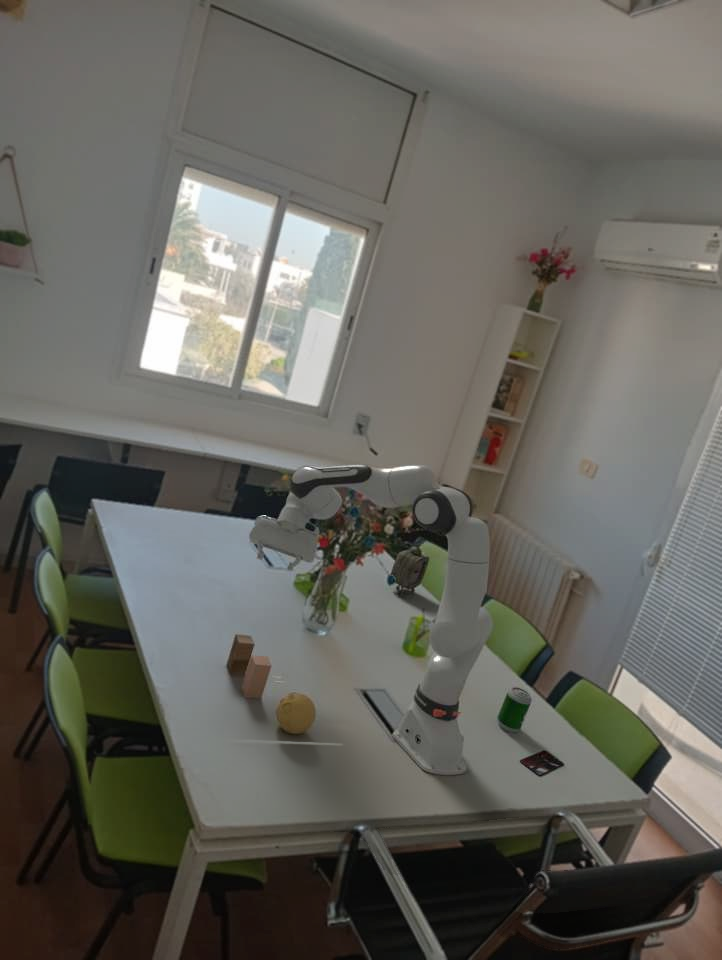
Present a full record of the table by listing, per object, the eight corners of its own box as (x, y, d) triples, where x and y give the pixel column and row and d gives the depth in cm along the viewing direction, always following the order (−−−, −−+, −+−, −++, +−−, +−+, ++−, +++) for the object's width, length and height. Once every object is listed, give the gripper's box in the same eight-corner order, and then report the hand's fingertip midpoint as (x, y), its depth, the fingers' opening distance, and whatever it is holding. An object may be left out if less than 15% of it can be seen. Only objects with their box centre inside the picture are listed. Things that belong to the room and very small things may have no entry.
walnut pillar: (244, 675, 207) (254, 644, 204) (229, 674, 205) (239, 642, 203) (241, 667, 211) (250, 635, 208) (226, 665, 209) (235, 634, 206)
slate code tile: (294, 689, 208) (295, 688, 208) (267, 687, 205) (268, 686, 205) (286, 674, 215) (287, 672, 215) (260, 672, 212) (261, 670, 212)
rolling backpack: (402, 599, 304) (421, 543, 299) (384, 589, 308) (402, 534, 303) (417, 593, 316) (436, 539, 311) (400, 584, 321) (418, 531, 315)
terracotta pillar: (261, 698, 198) (271, 665, 196) (245, 697, 196) (255, 664, 194) (257, 689, 202) (267, 656, 200) (241, 687, 200) (251, 655, 198)
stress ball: (311, 735, 191) (305, 697, 196) (323, 726, 183) (317, 686, 188) (274, 740, 187) (269, 700, 192) (285, 730, 179) (279, 689, 184)
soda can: (514, 737, 222) (528, 702, 219) (492, 724, 225) (505, 689, 223) (522, 729, 228) (536, 695, 226) (500, 716, 232) (514, 683, 229)
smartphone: (565, 764, 216) (539, 775, 205) (564, 766, 216) (538, 778, 205) (544, 749, 220) (518, 760, 209) (544, 751, 220) (517, 762, 209)
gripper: (258, 508, 219) (240, 547, 212) (324, 530, 218) (308, 570, 210) (258, 518, 224) (240, 556, 217) (322, 540, 223) (306, 580, 216)
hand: (274, 563), depth 214 cm, fingers open, 8 cm apart
